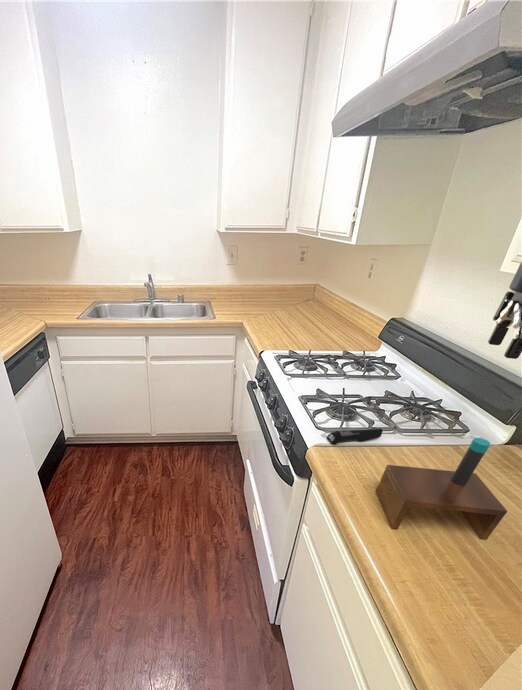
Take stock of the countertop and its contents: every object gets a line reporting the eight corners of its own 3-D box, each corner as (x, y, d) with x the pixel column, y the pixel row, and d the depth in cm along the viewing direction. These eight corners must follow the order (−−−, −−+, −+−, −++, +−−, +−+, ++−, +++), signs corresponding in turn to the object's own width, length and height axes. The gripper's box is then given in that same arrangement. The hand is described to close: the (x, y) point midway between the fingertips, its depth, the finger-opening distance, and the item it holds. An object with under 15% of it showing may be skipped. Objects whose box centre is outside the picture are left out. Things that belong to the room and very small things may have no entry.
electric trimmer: (382, 441, 96) (386, 432, 95) (332, 445, 94) (335, 436, 92) (374, 434, 100) (378, 425, 98) (325, 438, 97) (328, 428, 95)
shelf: (459, 500, 77) (475, 473, 73) (486, 539, 68) (507, 511, 64) (375, 491, 79) (386, 464, 75) (391, 529, 70) (405, 500, 66)
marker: (462, 477, 71) (485, 438, 66) (468, 486, 69) (493, 446, 64) (448, 476, 72) (470, 436, 66) (454, 485, 69) (478, 444, 64)
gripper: (597, 272, 56) (539, 365, 65) (551, 261, 67) (508, 342, 76) (542, 268, 58) (493, 360, 67) (506, 258, 69) (469, 338, 78)
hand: (501, 350), depth 72 cm, fingers open, 8 cm apart
